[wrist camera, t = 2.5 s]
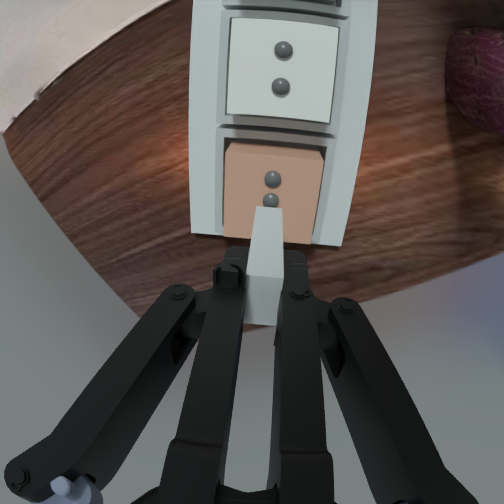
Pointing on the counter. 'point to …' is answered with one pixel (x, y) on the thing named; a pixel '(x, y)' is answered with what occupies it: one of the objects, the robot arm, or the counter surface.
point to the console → (271, 127)
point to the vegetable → (477, 76)
